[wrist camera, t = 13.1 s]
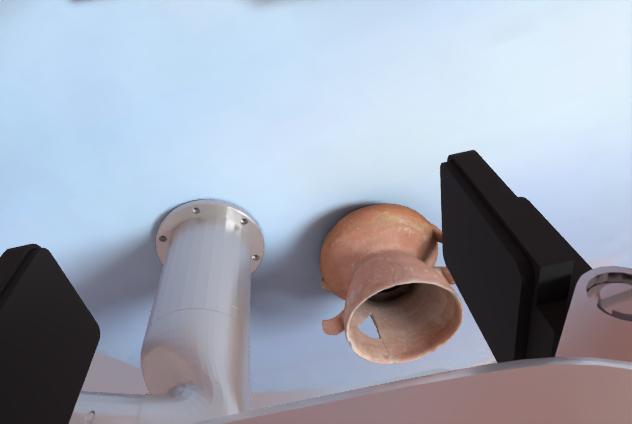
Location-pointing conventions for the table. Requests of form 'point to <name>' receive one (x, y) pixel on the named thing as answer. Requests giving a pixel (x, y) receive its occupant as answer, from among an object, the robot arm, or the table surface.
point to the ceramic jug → (389, 283)
